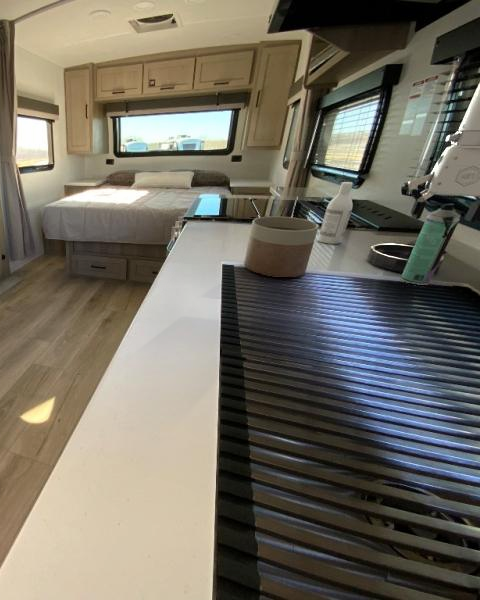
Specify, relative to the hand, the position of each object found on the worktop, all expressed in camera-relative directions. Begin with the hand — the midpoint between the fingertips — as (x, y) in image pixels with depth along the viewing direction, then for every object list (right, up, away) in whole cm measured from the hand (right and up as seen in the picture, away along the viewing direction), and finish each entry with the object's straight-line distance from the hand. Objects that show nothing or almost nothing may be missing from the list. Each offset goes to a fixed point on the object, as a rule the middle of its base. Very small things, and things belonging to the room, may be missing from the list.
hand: (441, 219), depth 79 cm
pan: (+7, -9, +18) cm, 21 cm away
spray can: (+1, -15, +8) cm, 17 cm away
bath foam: (+2, +1, +39) cm, 39 cm away
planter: (-29, -10, +19) cm, 36 cm away
